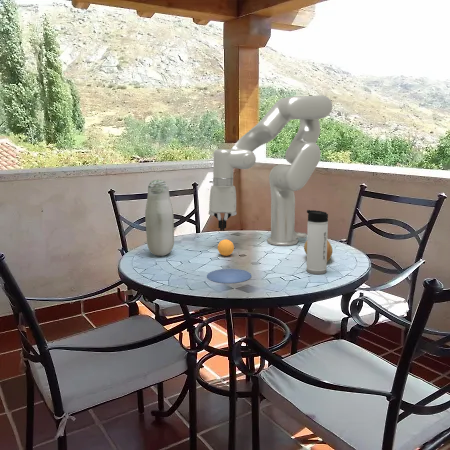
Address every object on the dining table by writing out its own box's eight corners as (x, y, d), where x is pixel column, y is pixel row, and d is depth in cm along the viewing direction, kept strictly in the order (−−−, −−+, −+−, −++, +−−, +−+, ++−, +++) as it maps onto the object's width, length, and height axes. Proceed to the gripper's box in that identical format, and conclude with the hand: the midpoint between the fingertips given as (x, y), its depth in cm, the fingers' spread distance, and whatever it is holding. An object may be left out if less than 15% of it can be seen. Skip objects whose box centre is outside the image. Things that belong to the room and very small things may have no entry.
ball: (233, 253, 165) (233, 237, 164) (234, 257, 159) (234, 241, 158) (217, 253, 165) (217, 238, 163) (217, 257, 159) (217, 241, 158)
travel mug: (304, 268, 144) (305, 208, 140) (324, 268, 144) (326, 208, 140) (306, 274, 138) (308, 212, 134) (328, 274, 138) (330, 211, 134)
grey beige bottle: (144, 253, 167) (140, 179, 161) (171, 250, 170) (168, 178, 165) (150, 259, 158) (146, 181, 152) (178, 256, 161) (175, 180, 156)
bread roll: (307, 266, 148) (307, 243, 146) (301, 254, 163) (301, 233, 161) (336, 266, 148) (336, 242, 146) (327, 254, 162) (328, 233, 161)
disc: (249, 268, 145) (249, 268, 145) (253, 282, 132) (253, 281, 132) (206, 269, 145) (206, 269, 145) (206, 283, 131) (206, 283, 131)
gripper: (203, 183, 162) (202, 231, 165) (243, 183, 162) (242, 232, 166) (203, 181, 169) (202, 228, 173) (242, 181, 170) (240, 228, 173)
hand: (222, 230), depth 169 cm, fingers closed
